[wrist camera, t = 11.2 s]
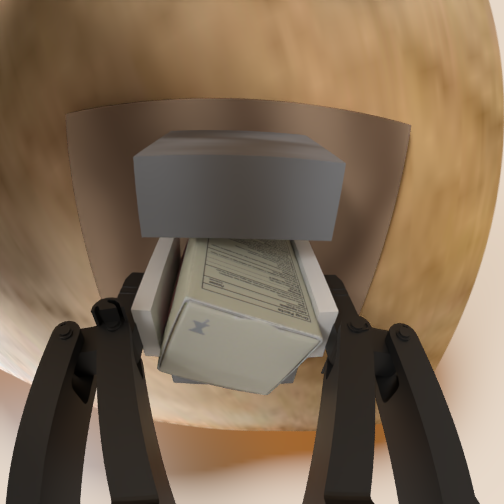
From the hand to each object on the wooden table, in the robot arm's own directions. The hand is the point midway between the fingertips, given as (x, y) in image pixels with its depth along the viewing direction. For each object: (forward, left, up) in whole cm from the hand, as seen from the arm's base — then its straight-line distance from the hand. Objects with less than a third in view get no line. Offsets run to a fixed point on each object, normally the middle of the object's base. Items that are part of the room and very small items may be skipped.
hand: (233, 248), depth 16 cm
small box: (0, 0, -1) cm, 1 cm away
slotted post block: (0, 0, -2) cm, 2 cm away
